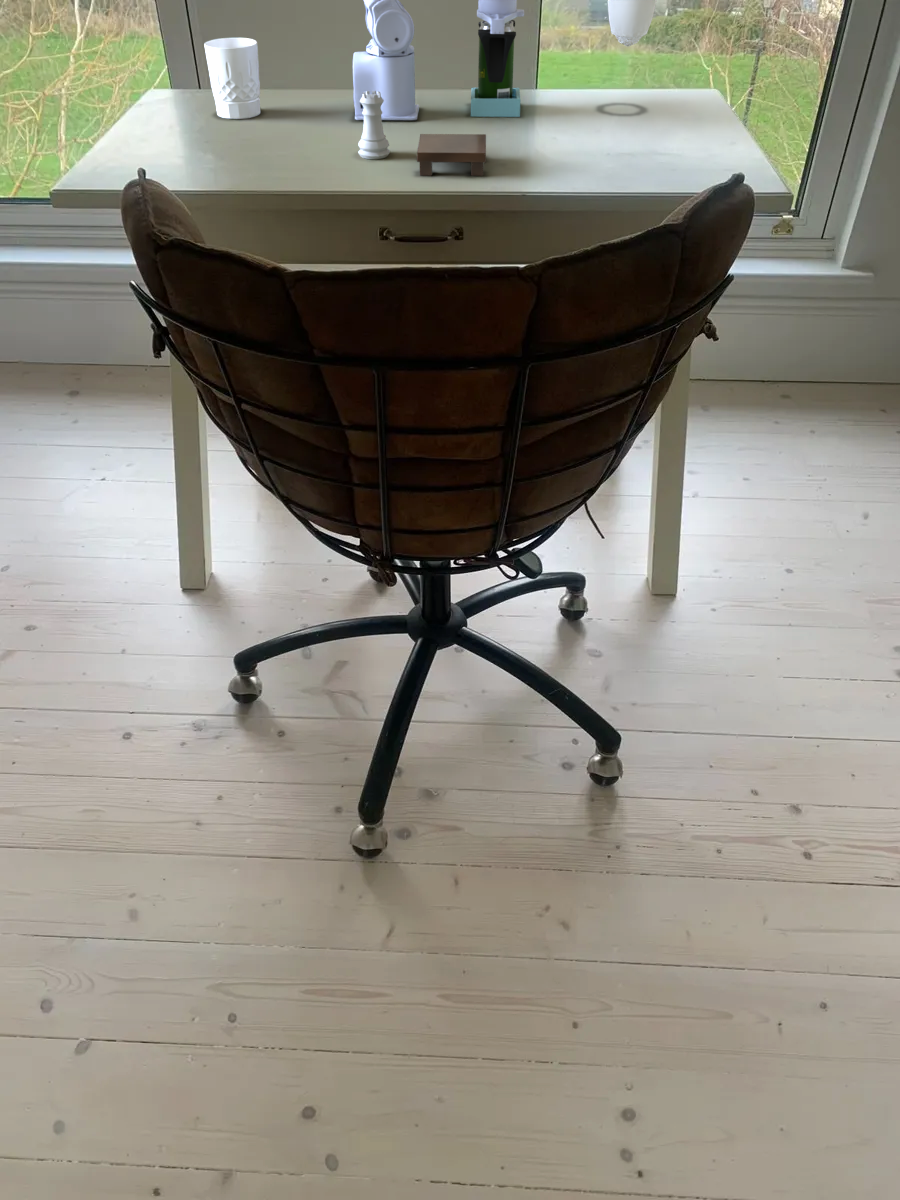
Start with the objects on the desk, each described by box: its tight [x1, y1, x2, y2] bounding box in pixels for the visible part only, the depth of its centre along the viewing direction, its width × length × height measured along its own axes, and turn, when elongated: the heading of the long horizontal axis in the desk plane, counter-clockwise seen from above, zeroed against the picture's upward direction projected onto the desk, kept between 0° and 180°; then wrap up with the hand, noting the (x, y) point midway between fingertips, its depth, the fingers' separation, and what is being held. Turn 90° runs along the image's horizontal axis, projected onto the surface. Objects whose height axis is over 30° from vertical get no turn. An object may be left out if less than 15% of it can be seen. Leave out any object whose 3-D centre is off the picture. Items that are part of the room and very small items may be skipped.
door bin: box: [470, 87, 521, 118], centre depth 165 cm, size 8×8×2 cm
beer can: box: [477, 20, 516, 99], centre depth 162 cm, size 5×5×12 cm
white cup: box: [203, 37, 261, 120], centre depth 161 cm, size 8×8×10 cm
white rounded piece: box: [607, 0, 658, 47], centre depth 160 cm, size 7×7×21 cm
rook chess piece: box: [357, 91, 391, 160], centre depth 144 cm, size 4×4×8 cm
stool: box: [416, 133, 487, 177], centre depth 141 cm, size 9×9×3 cm
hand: (495, 77), depth 163 cm, fingers closed on beer can, 5 cm apart
